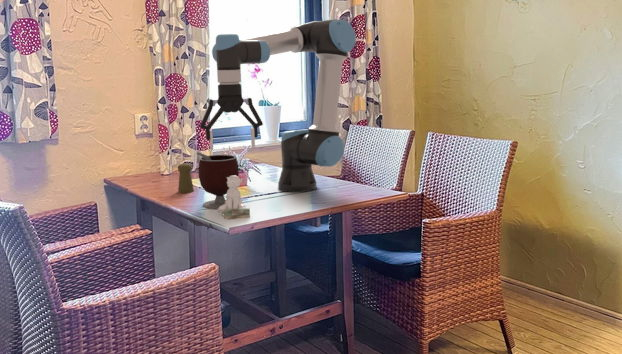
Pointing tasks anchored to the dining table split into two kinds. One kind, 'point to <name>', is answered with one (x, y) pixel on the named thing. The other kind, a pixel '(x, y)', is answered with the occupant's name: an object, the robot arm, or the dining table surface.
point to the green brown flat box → (237, 213)
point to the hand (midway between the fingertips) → (232, 148)
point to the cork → (185, 178)
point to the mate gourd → (216, 176)
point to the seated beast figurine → (232, 195)
